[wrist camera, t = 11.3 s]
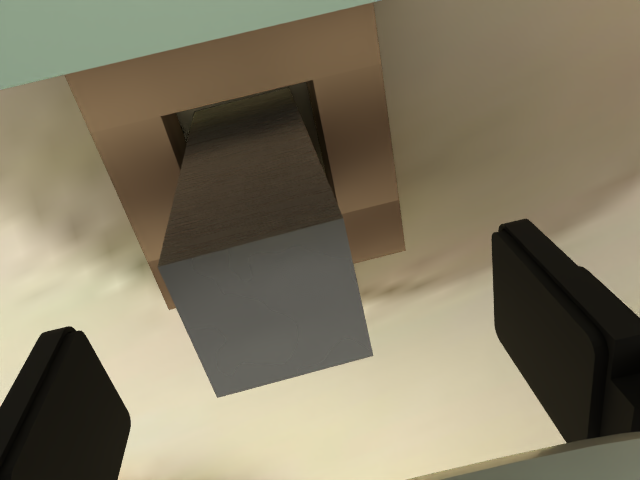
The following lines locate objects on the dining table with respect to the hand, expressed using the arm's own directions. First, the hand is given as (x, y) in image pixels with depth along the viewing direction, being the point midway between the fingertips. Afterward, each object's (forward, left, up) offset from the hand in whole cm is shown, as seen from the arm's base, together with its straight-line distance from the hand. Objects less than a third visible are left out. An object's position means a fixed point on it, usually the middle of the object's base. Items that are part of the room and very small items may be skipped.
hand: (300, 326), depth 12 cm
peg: (0, +1, -12) cm, 12 cm away
